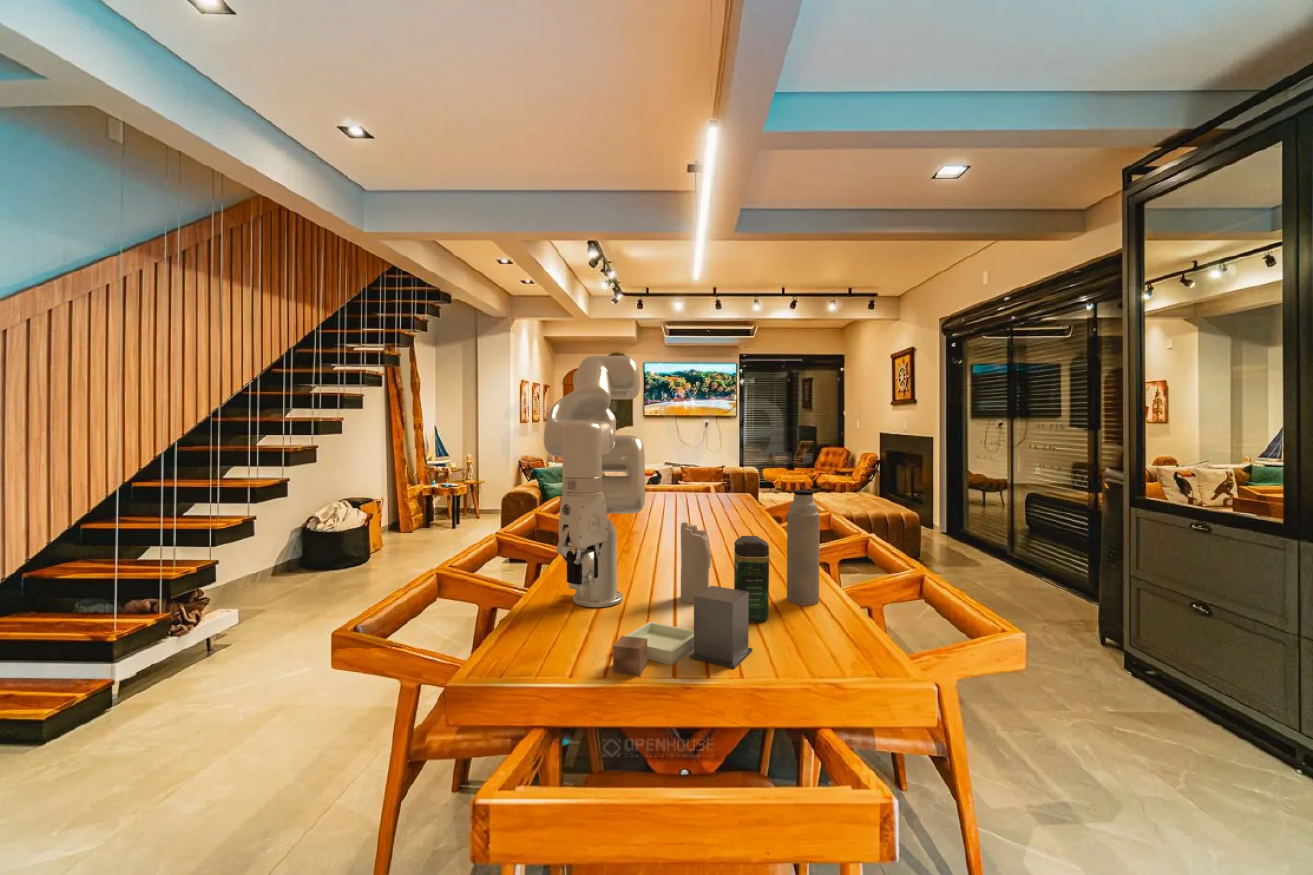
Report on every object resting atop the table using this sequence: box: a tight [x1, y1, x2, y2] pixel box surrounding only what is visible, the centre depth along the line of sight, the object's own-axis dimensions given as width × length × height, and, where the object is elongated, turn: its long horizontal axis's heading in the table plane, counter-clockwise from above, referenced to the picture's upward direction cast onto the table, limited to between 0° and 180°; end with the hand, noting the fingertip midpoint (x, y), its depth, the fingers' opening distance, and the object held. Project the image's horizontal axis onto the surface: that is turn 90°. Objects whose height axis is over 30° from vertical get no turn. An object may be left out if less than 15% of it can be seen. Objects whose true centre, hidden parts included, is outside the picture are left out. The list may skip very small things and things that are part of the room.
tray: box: [625, 621, 694, 666], centre depth 116 cm, size 12×12×2 cm
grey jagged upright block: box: [680, 521, 712, 604], centre depth 146 cm, size 7×14×20 cm, turn 73°
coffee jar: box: [733, 535, 770, 623], centre depth 134 cm, size 10×8×19 cm
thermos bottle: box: [786, 489, 821, 606], centre depth 146 cm, size 8×8×28 cm
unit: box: [689, 585, 753, 670], centre depth 112 cm, size 9×9×12 cm
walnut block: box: [612, 635, 648, 677], centre depth 106 cm, size 5×5×5 cm
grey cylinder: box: [572, 549, 594, 586], centre depth 111 cm, size 4×4×6 cm
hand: (582, 579), depth 112 cm, fingers closed on grey cylinder, 4 cm apart
